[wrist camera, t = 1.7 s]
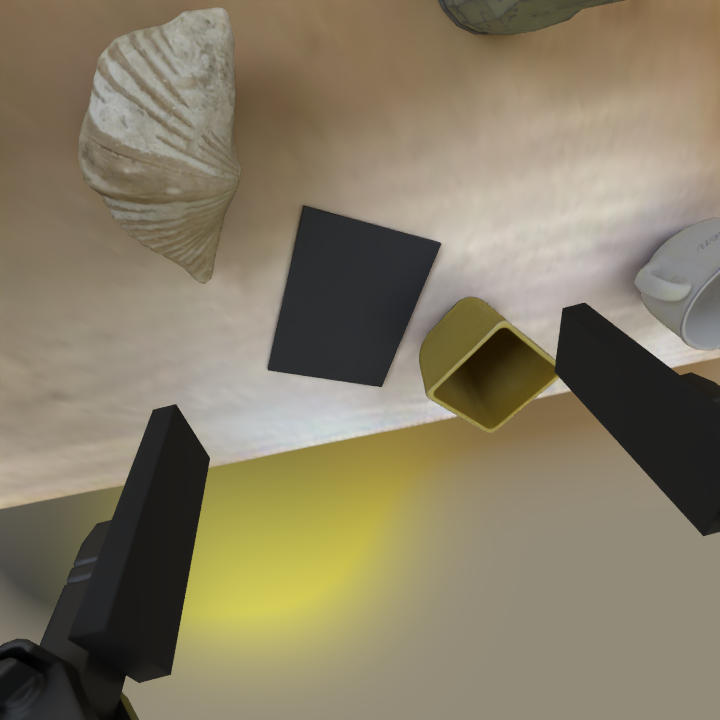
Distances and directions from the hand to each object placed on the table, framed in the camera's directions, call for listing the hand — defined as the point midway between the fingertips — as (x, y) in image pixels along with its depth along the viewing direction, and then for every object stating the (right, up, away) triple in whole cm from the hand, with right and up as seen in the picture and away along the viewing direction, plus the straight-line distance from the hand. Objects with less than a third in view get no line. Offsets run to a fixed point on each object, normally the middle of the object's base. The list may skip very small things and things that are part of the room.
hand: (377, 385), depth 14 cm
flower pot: (+9, +4, +27) cm, 29 cm away
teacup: (+29, +11, +26) cm, 41 cm away
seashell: (-13, +15, +15) cm, 25 cm away
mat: (-2, +6, +24) cm, 24 cm away
